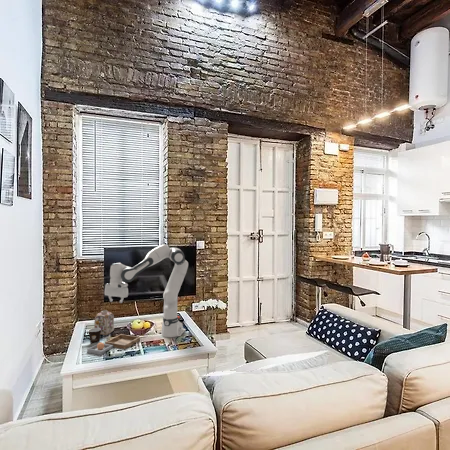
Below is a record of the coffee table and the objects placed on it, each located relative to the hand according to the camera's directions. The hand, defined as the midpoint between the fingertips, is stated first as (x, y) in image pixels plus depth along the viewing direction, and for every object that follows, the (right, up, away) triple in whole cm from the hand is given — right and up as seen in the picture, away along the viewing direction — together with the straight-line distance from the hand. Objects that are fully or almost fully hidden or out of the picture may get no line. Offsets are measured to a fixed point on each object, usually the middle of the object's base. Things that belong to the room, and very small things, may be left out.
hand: (116, 302), depth 248 cm
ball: (-6, -31, -15) cm, 35 cm away
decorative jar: (-17, -31, +22) cm, 42 cm away
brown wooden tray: (+6, -31, -3) cm, 32 cm away
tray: (-6, -31, -15) cm, 35 cm away
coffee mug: (-17, -31, 0) cm, 36 cm away
